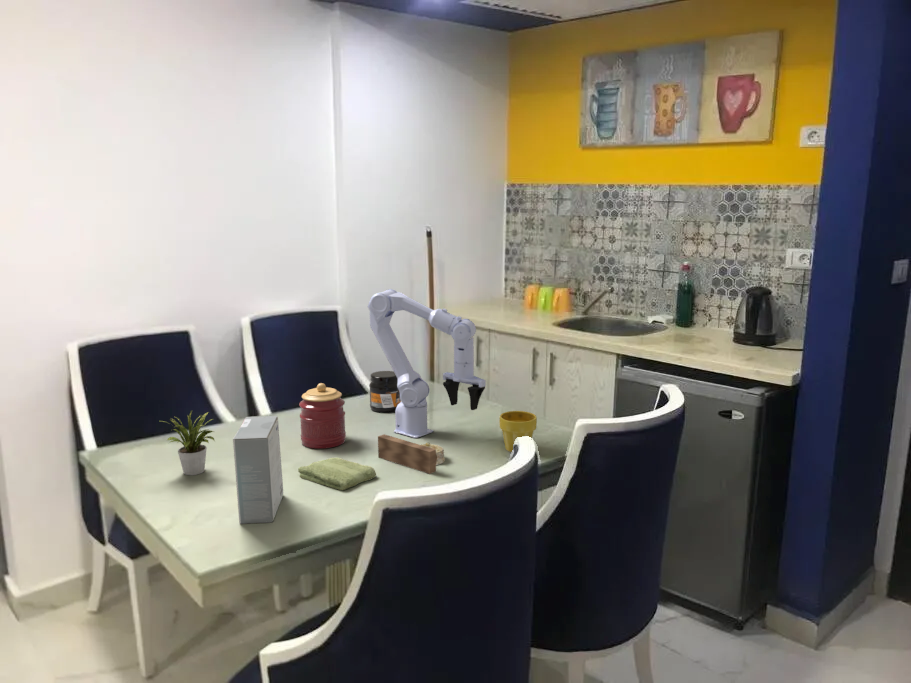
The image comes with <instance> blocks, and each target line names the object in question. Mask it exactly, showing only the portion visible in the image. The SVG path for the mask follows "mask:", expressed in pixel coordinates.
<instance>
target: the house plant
mask: <svg viewBox="0 0 911 683" xmlns="http://www.w3.org/2000/svg"><path fill="white" fill-rule="evenodd" d="M192 412H193V410H190V412H189V415H187V423H188V429H187V428H186V427H185V426H184V424H183V422H182V421H181V419H180V418H179V417H177V416H175V418H176V419H177V420H178V421H179V422H177V421H176V419H173V418H171V419H170V422H172V423H173V424H174V425H175V426H173V428H175V429H172V430H173V431H175V432H176V433H177V434H178V435H179V436H180V438H181V440H180V438H177V437H175V436H170V437H168V438H167V439H166V441H169V443H173V442H176V443H177V444H178V443H181V444H182V445H183V446H181V447H179V448H178V449H177V454H178V457H179V461H180V465H181V467H182V472H183V475H187V476H196V475H200V474H203V472H205V471H206V470H205V469H206V467H205V466H206V458H207V449H208V447H207V446H206V445H205V444H202V443H207V444H210V443H209V439H210V440H212V441H214V442H216V441H215V438H214V436H211V435H209V436H208V434H211V433H215V431H214V430H211V429H210V428H207V429H203V427H205V424H203V423H204V422H205V419H206V416H207V415H208V413H209V411H208V412H206V413H204V414H203V415H202V414H200V415H199V416H198V417H197V418H196V419H195V420H194V422H192V419H191V418H192ZM199 418H200V419H199ZM198 419H199V420H198ZM212 420H213V418H212V419H209V420H208V421H207V423H209V422H211V421H212ZM197 421H198V422H197ZM160 422H163V423H167V424H169V422H168V421H163V420H160ZM196 422H197V423H196ZM179 423H180V424H181V425H180V424H179ZM195 424H196V425H195ZM176 428H177V429H176ZM202 429H203V430H202Z"/></svg>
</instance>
